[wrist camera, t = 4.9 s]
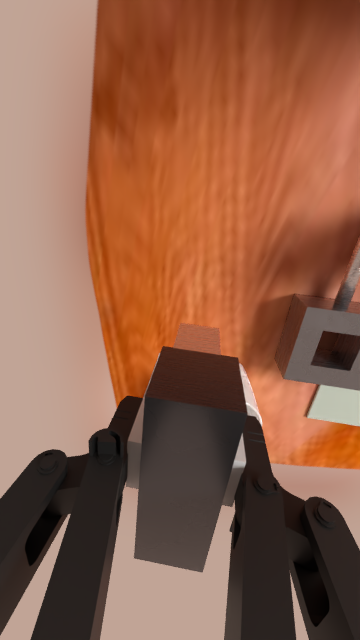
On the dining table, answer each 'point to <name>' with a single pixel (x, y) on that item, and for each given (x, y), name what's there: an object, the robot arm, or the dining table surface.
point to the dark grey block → (187, 448)
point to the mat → (336, 405)
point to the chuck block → (307, 327)
